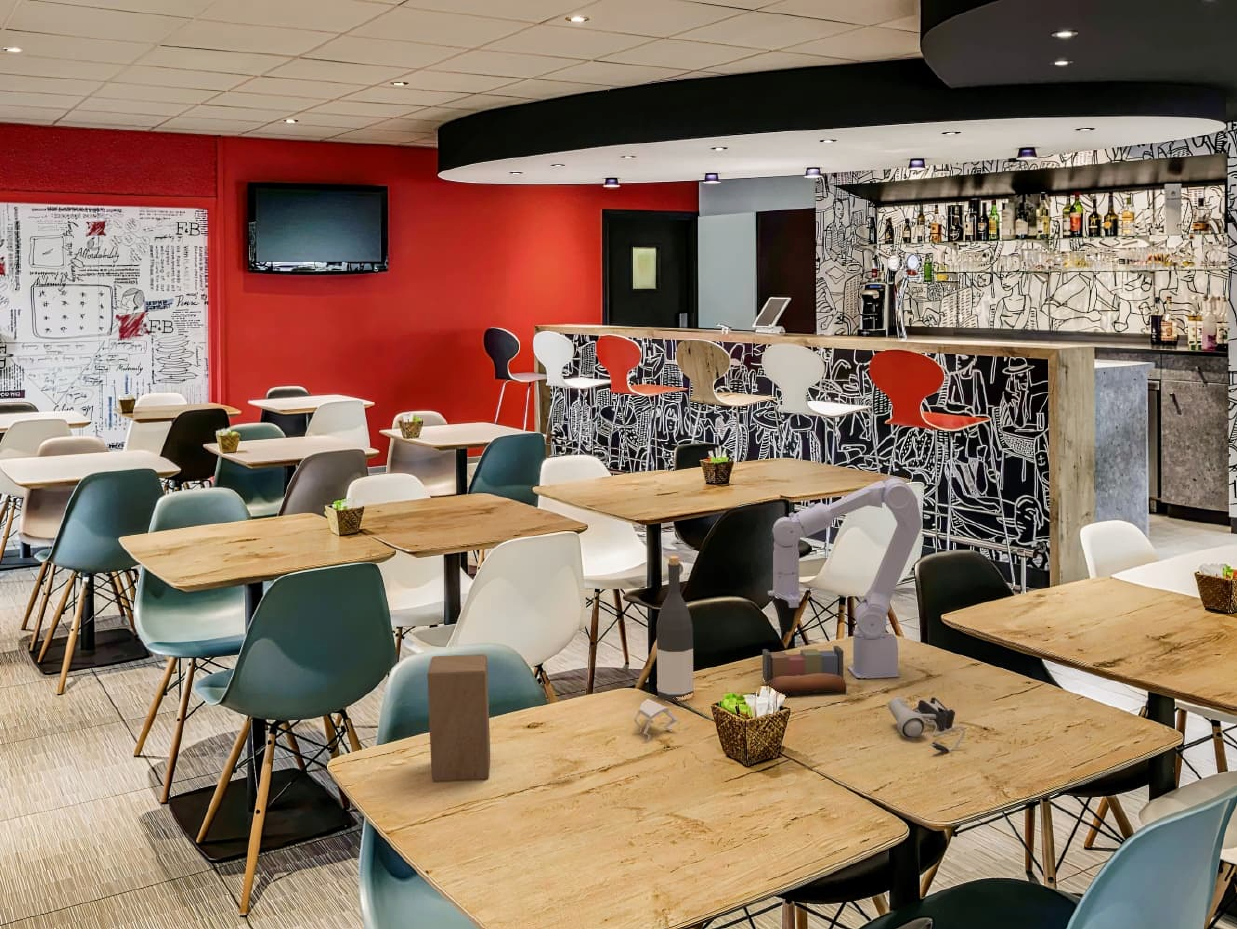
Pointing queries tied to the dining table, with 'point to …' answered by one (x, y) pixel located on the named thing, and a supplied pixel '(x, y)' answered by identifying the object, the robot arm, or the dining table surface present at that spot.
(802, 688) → the sunglasses case
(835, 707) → the dining table surface
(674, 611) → the wine bottle
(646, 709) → the grey legged block
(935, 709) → the clip-on lamp
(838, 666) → the book row
